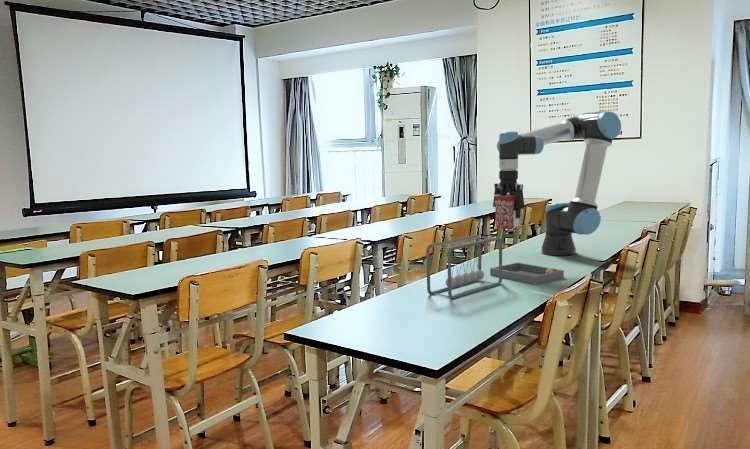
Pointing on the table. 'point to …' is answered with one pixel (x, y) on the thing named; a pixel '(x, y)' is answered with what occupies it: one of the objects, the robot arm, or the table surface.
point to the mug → (504, 211)
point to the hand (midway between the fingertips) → (508, 225)
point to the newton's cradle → (466, 277)
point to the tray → (527, 273)
